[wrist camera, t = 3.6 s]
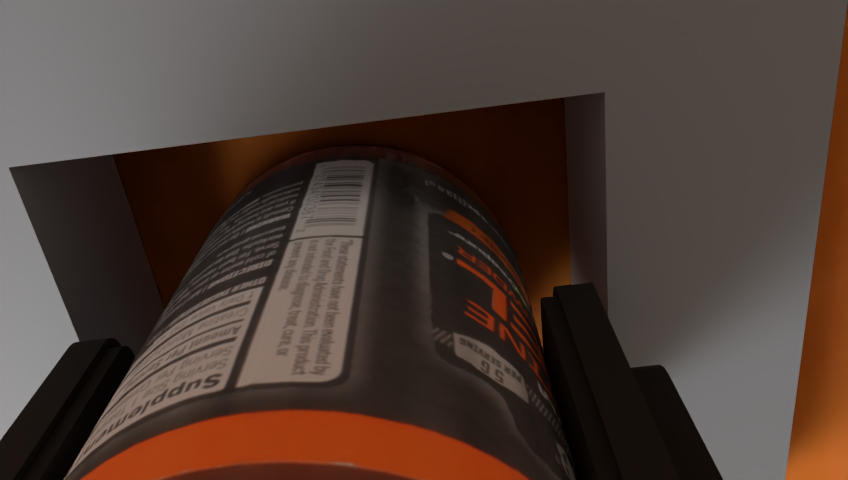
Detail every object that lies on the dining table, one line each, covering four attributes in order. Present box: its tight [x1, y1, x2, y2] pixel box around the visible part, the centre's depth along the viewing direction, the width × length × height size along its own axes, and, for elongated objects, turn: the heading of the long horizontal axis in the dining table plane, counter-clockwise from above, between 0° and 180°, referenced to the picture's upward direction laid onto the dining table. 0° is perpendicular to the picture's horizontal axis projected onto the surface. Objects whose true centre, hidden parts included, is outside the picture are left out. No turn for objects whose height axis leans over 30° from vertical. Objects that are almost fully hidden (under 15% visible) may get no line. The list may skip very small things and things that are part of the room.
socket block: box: [0, 0, 848, 480], centre depth 13 cm, size 14×14×3 cm
